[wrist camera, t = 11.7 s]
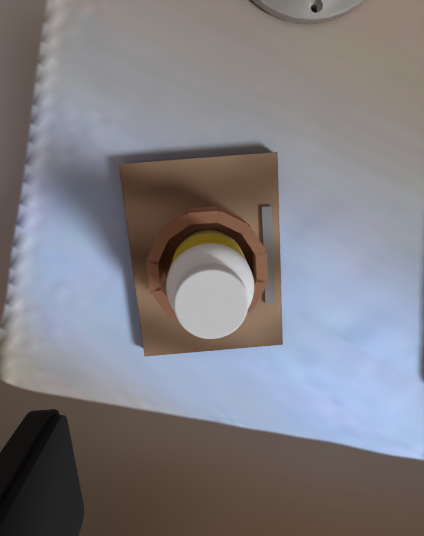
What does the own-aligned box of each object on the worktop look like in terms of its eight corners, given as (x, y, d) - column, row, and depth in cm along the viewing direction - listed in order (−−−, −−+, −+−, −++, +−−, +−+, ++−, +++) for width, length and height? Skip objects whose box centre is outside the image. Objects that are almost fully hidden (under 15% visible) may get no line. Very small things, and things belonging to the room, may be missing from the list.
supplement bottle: (162, 242, 28) (143, 277, 19) (227, 216, 28) (242, 238, 18) (189, 303, 29) (184, 365, 20) (252, 279, 29) (277, 330, 20)
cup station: (122, 164, 28) (107, 162, 24) (274, 153, 29) (288, 148, 24) (146, 349, 32) (138, 378, 28) (279, 338, 33) (292, 364, 28)
